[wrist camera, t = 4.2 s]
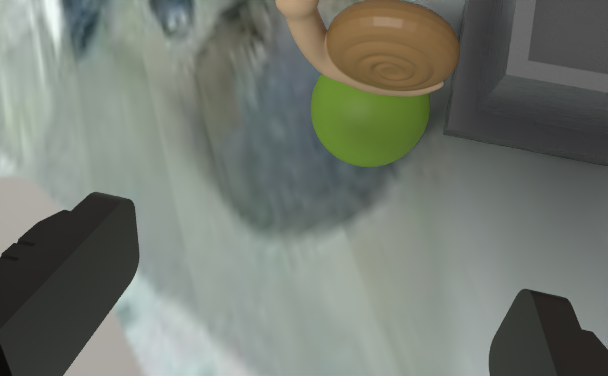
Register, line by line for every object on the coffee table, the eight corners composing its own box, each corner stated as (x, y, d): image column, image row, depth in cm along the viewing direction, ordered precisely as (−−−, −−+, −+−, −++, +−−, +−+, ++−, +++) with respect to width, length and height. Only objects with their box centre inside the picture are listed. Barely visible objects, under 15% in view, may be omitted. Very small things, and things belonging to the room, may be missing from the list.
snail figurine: (306, 68, 25) (289, -133, 13) (425, 91, 24) (520, -98, 12) (283, 162, 23) (241, 37, 12) (406, 189, 23) (491, 84, 11)
